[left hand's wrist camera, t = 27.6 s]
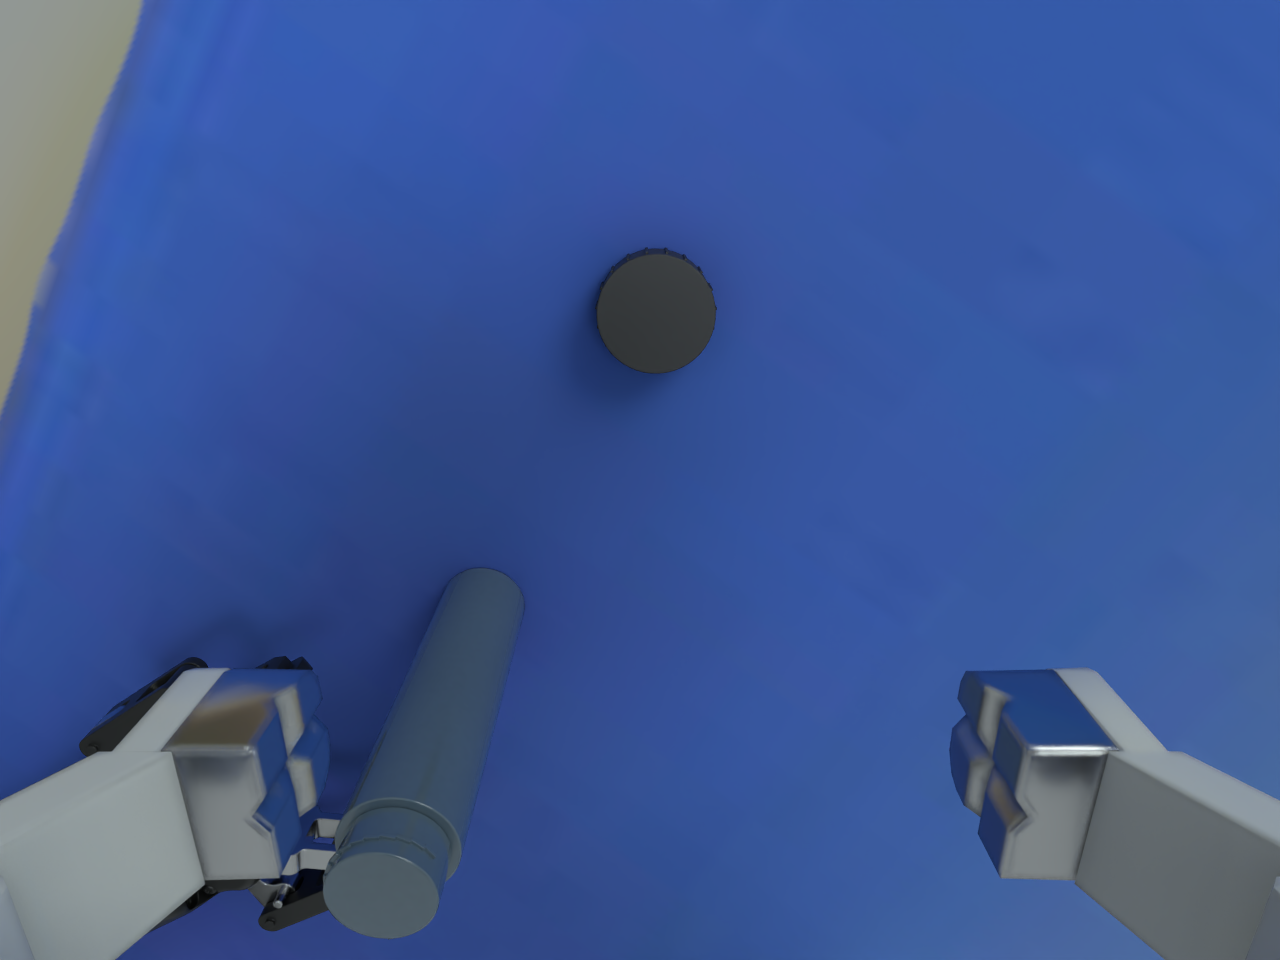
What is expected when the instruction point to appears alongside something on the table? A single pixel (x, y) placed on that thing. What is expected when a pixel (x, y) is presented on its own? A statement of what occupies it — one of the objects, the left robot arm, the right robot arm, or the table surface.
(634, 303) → the lid
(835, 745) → the table surface
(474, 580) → the grey cylinder
